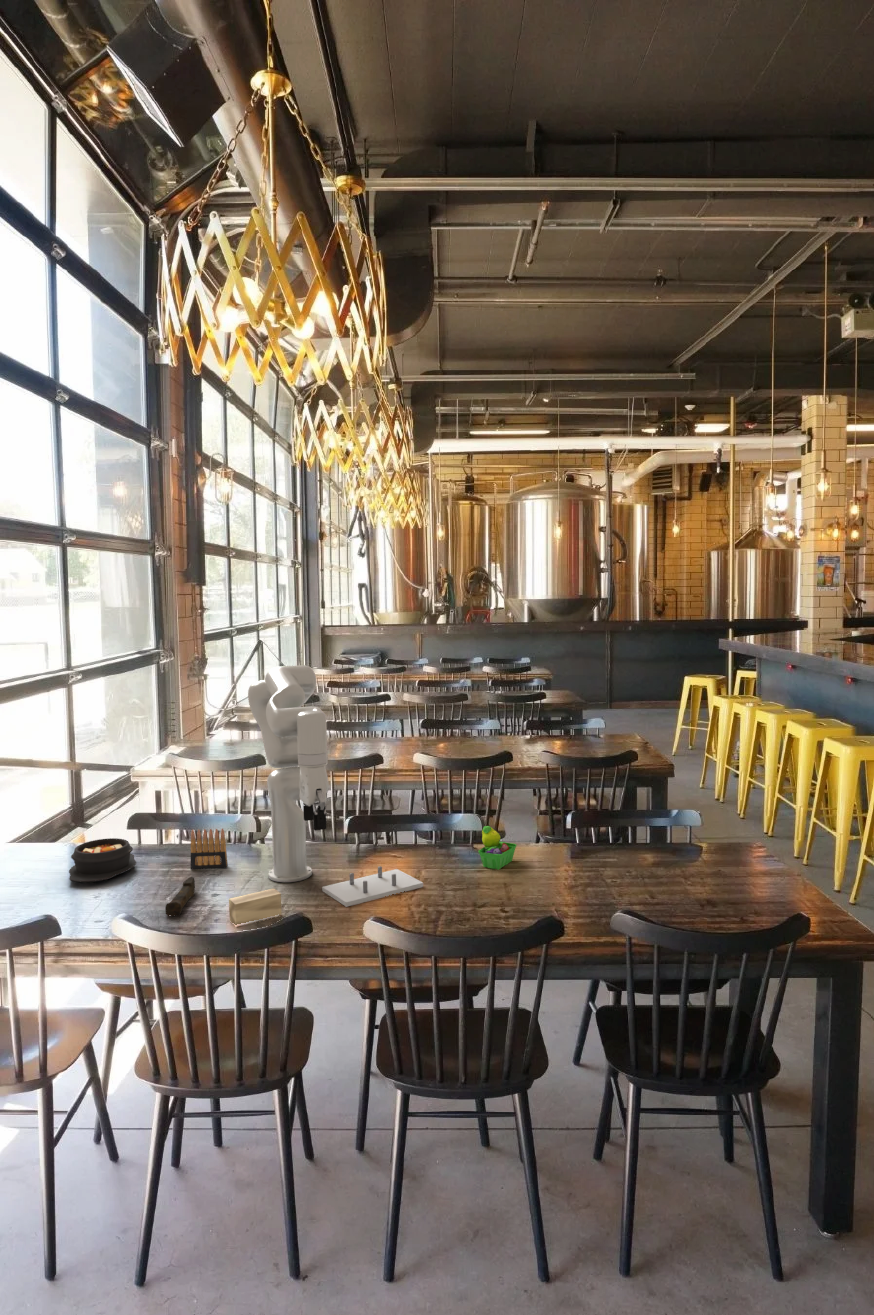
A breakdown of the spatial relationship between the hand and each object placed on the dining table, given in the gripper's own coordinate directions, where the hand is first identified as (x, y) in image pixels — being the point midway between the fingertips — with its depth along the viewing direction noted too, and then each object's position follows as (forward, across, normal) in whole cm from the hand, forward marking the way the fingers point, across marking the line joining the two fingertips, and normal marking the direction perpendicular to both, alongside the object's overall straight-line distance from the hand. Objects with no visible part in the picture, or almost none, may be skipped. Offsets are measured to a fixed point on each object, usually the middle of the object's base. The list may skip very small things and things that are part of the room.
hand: (314, 824), depth 209 cm
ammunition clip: (+22, -46, -21) cm, 55 cm away
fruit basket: (+22, -10, +58) cm, 63 cm away
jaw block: (+22, -1, -16) cm, 27 cm away
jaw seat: (+22, -7, +18) cm, 29 cm away
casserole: (+22, -56, -50) cm, 78 cm away
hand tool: (+23, -20, -32) cm, 44 cm away
